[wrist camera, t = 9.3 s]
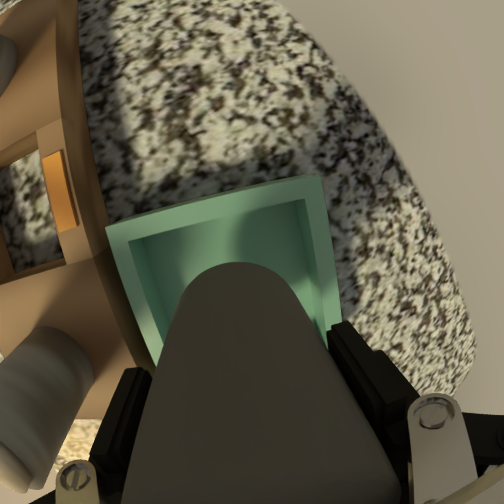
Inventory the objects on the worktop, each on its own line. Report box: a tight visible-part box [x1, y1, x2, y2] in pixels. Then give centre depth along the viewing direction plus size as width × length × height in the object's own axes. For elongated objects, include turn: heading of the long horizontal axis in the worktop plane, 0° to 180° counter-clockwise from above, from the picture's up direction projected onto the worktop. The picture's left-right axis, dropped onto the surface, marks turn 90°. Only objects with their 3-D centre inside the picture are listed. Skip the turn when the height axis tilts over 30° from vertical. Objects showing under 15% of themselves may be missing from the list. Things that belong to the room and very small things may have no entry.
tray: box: [105, 174, 342, 367], centre depth 17 cm, size 11×11×3 cm
